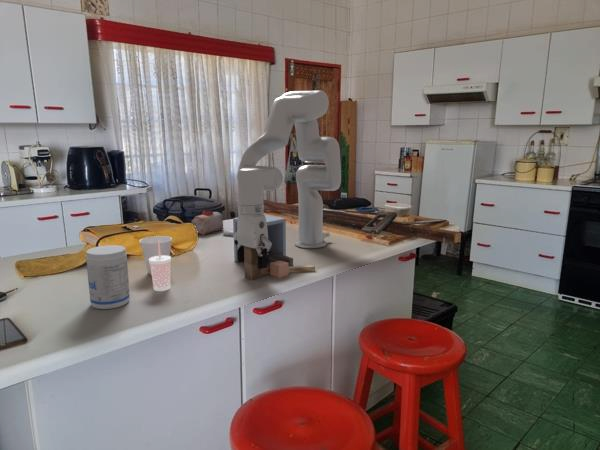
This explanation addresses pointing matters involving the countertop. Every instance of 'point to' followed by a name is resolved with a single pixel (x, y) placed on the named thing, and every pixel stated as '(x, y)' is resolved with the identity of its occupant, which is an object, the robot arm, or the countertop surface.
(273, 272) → the terracotta block
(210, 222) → the food item
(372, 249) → the countertop surface
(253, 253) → the wooden l-bracket
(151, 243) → the cup
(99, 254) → the supplement tub
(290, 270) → the oak stick
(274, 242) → the cubby
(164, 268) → the beverage cup
